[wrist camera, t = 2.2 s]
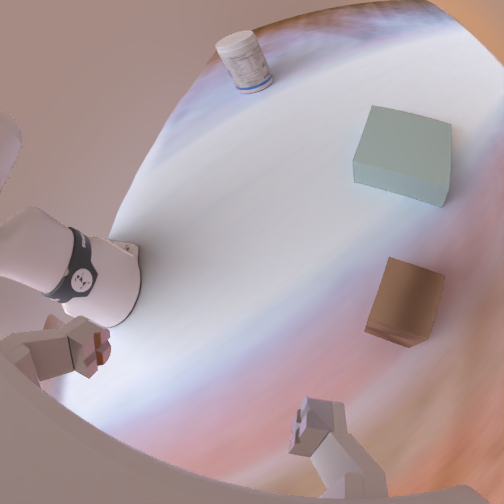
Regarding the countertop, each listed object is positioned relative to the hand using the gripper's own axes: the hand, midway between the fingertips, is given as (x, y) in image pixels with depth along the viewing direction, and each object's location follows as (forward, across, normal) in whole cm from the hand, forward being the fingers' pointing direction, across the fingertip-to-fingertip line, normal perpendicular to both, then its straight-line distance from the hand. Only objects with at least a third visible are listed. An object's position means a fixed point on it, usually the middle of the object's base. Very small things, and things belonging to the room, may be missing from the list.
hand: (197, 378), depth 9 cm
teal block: (+35, +18, +16) cm, 42 cm away
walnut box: (+21, +17, -4) cm, 27 cm away
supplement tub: (+59, -14, +30) cm, 68 cm away
